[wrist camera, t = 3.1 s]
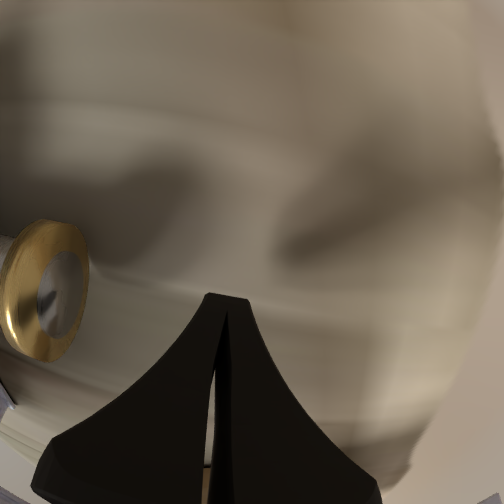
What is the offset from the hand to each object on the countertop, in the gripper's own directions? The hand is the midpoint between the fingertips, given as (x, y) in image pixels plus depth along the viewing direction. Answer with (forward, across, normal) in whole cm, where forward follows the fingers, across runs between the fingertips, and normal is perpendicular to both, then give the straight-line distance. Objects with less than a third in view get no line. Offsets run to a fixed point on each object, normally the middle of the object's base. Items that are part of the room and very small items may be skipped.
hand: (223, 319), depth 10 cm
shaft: (+2, +10, 0) cm, 11 cm away
